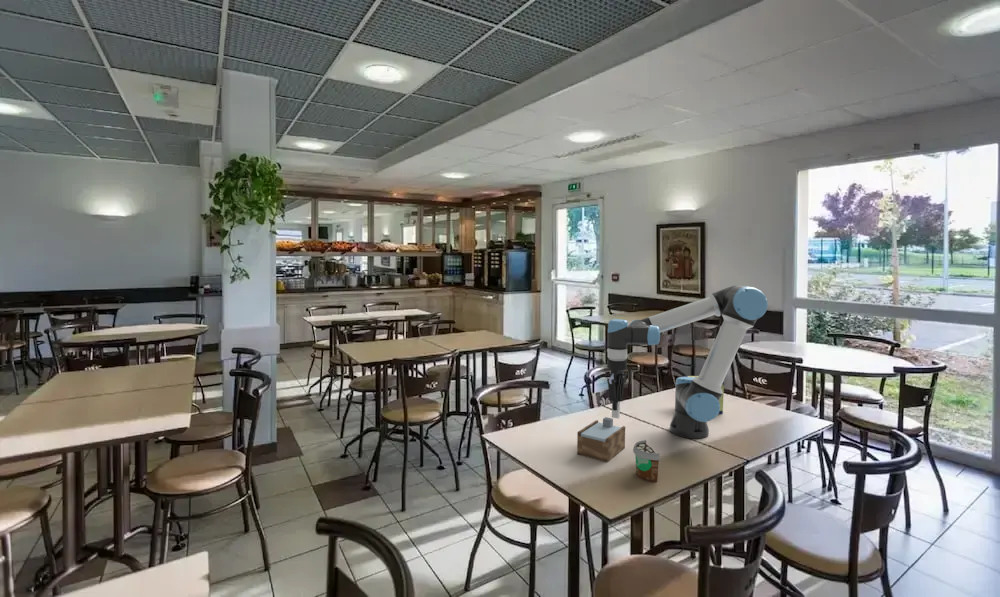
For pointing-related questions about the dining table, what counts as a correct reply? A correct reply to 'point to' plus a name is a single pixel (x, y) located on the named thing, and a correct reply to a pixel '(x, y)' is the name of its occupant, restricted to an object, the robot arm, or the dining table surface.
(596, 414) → the dining table surface
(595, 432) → the cover plate
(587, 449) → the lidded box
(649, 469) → the food container
